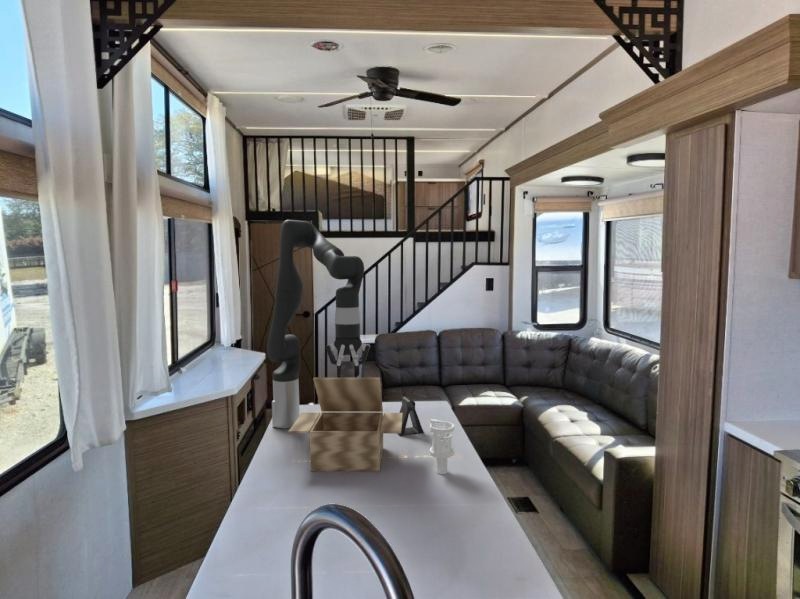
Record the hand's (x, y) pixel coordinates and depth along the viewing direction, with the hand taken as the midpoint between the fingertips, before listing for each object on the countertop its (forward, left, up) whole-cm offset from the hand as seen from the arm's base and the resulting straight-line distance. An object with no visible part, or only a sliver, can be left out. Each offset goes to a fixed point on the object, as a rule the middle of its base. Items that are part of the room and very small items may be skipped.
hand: (348, 377), depth 157 cm
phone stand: (+18, +22, -25) cm, 38 cm away
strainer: (+28, -11, -25) cm, 39 cm away
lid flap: (0, +1, -6) cm, 6 cm away
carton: (0, -2, -25) cm, 25 cm away
